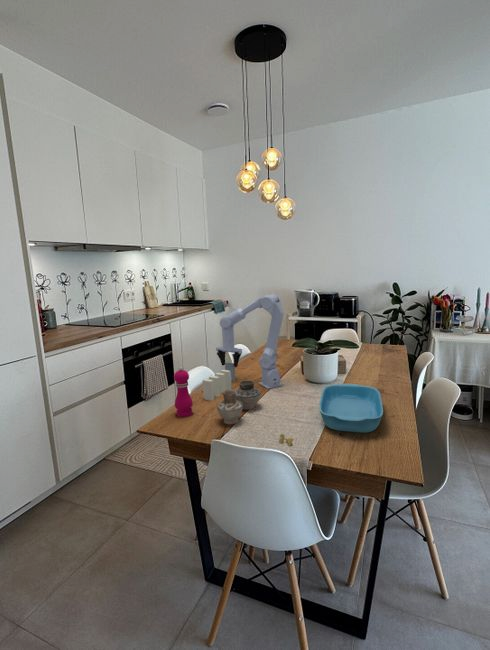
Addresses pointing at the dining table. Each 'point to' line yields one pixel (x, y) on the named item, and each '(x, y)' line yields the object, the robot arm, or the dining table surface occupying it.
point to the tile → (221, 381)
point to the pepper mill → (182, 394)
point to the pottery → (238, 401)
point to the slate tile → (230, 368)
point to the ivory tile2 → (227, 379)
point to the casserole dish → (351, 407)
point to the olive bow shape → (288, 440)
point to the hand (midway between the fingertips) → (229, 365)
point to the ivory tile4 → (216, 385)
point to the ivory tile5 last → (208, 389)
